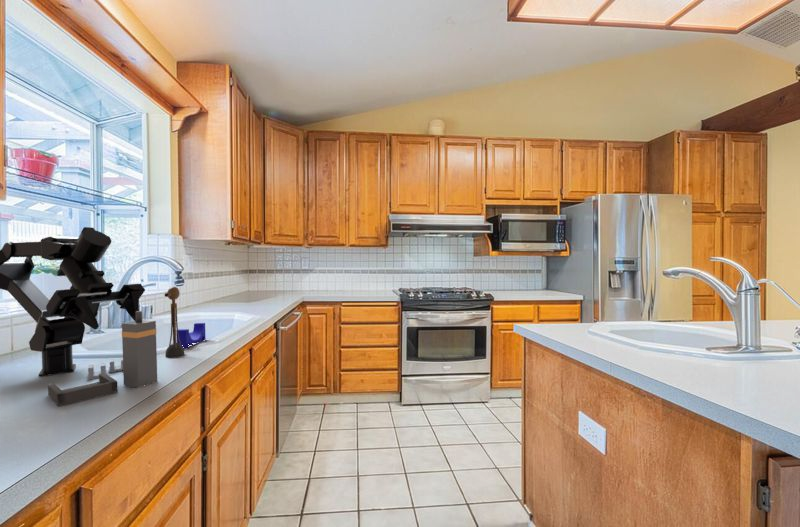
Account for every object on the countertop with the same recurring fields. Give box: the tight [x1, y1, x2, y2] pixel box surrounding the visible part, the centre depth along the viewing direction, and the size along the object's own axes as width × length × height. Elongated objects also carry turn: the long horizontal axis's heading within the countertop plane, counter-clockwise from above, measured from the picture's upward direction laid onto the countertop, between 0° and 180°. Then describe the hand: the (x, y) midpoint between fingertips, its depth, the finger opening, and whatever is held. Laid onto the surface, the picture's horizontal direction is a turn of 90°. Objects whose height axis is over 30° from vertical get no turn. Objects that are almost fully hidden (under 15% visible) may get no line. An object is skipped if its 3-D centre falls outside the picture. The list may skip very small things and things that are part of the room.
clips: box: [86, 357, 123, 380], centre depth 95 cm, size 7×13×3 cm, turn 128°
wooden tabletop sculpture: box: [164, 286, 185, 359], centre depth 108 cm, size 6×5×20 cm
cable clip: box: [176, 322, 206, 349], centre depth 122 cm, size 12×4×6 cm, turn 2°
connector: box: [121, 310, 158, 388], centre depth 85 cm, size 5×5×16 cm
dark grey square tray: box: [47, 373, 119, 407], centre depth 79 cm, size 10×10×2 cm
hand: (118, 324), depth 87 cm, fingers open, 9 cm apart
